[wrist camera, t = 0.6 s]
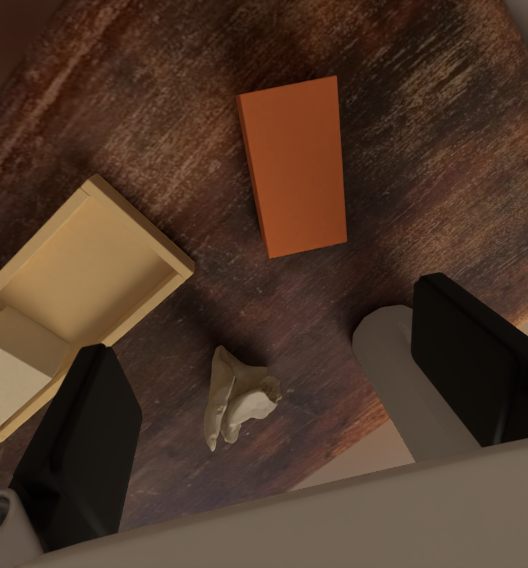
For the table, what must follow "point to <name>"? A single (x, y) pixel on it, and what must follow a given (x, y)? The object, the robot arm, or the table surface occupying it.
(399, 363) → the water bottle
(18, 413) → the wooden tray
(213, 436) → the bone
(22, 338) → the cream rectangular block
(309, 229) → the orange angular block
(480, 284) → the table surface
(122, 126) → the table surface
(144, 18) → the table surface
